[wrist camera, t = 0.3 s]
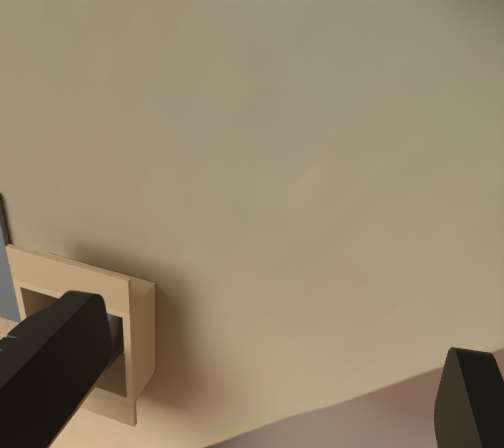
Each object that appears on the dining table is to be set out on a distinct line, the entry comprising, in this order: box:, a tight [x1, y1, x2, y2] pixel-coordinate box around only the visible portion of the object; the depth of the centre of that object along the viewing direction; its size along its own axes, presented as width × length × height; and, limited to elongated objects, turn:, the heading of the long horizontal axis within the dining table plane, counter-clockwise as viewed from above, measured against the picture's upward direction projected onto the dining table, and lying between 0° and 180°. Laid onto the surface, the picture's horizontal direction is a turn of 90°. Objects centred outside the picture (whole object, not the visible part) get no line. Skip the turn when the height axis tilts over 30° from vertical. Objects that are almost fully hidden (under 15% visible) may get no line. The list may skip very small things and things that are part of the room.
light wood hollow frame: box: [5, 244, 156, 427], centre depth 37 cm, size 16×10×4 cm, turn 173°
